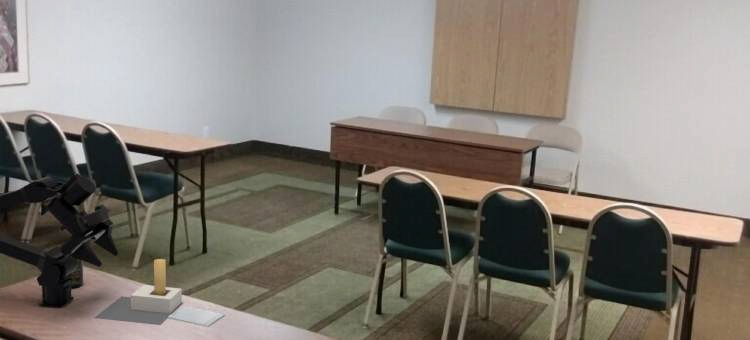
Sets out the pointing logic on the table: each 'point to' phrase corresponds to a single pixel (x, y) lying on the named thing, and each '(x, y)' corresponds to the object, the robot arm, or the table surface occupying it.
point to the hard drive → (196, 316)
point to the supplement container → (77, 276)
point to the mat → (132, 313)
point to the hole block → (156, 299)
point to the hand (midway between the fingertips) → (109, 260)
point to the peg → (160, 277)
